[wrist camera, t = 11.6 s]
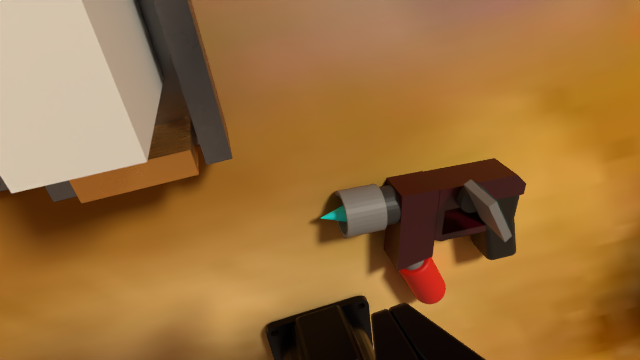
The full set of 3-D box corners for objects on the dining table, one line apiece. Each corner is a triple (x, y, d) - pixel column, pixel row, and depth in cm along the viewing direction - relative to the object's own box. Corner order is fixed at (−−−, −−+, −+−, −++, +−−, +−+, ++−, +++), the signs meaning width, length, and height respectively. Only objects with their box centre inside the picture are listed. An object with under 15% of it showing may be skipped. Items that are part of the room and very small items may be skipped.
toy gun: (311, 178, 21) (340, 234, 17) (514, 141, 24) (581, 183, 20) (320, 308, 26) (344, 376, 22) (487, 267, 29) (536, 321, 25)
